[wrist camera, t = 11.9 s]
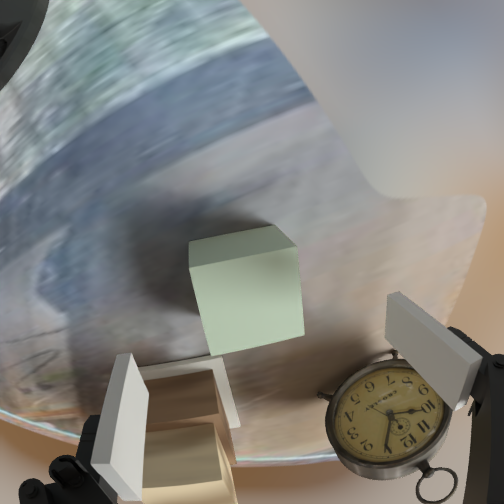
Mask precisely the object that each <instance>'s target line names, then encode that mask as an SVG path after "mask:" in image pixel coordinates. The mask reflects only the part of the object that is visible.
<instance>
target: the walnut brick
mask: <svg viewBox="0 0 504 504" xmlns="http://www.w3.org/2000/svg"><path fill="white" fill-rule="evenodd" d="M144 384H145V386H146V388H147V390H148V393H149V399H148V409H147V419H146V431H145V433H146V432H155V431H164V430H172V429H179V428H186V427H193V426H199V425H205V424H211V423H214V426H215V428H216V431H217V433H218V436H219V439H220V441H221V444H222V446H223V449H224V451H225V454H226V456H227V459H228V461H229V464H230V465H233V464H237V462H236V458H235V453H234V448H233V443H232V438H231V433H230V427H229V422H228V419H227V416H226V413H225V410H224V406H223V403H222V400H221V397H220V393H219V390H218V387H217V383H216V380H215V376H214V373H213V370H212V369H211V370H206V371H200V372H195V373H189V374H183V375H177V376H171V377H165V378H158V379H152V380H144Z"/></svg>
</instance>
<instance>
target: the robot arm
mask: <svg viewBox="0 0 504 504" xmlns="http://www.w3.org/2000/svg"><path fill="white" fill-rule="evenodd" d="M48 4H49V0H0V90H1V89H2V88H3V87H4V86H5V85H6V84H7V82H8V81H9V80H10V79H11V77H12V76H13V75H14V73H15V72H16V71H17V69H18V68H19V66H20V65H21V63H22V62H23V60H24V59H25V57H26V56H27V54H28V52H29V50H30V49H31V47H32V45H33V43H34V41H35V39H36V37H37V35H38V33H39V31H40V28H41V26H42V23H43V21H44V18H45V15H46V12H47V8H48ZM385 339H386V340H387V341H388V342H389V343H390V344H391V345H392V346H393V347H394V348H395V349H396V350H397V351H398V352H399V353H400V354H401V355H402V356H403V357H404V358H405V360H406V361H407V362H408V363H409V364H410V365H411V366H412V367H413V368H414V369H415V370H416V371H417V372H418V373H419V374H420V375H421V376H422V378H423V379H424V380H425V381H426V382H427V383H428V384H429V385H430V386H431V387H432V388H433V389H434V390H435V391H436V393H437V394H438V395H439V396H440V397H441V398H442V399H443V400H444V401H445V402H446V403H447V404H448V406H449V407H450V408H451V409H452V410H453V411H456V410H458V409H459V408H461V407H463V406H464V405H466V404H467V401H468V399H469V396H470V395H471V396H472V397H473V398H474V401H473V403H472V406H471V408H470V410H469V413H468V416H470V414H471V412H472V429H471V444H470V456H469V466H468V473H467V481H466V488H465V494H464V500H463V504H504V355H502V354H495V355H491V354H490V353H488V352H487V351H486V350H485V349H483V348H482V347H481V346H480V345H478V344H477V343H476V342H475V341H472V339H470V338H469V337H467V335H466V334H464V333H463V332H462V331H460V330H459V329H456V328H453V327H448V328H446V327H445V326H443V325H442V324H441V323H440V322H438V321H437V320H436V319H434V318H433V317H432V316H431V315H429V314H428V313H427V312H425V311H424V310H423V309H422V308H420V307H419V306H418V305H416V304H415V303H414V302H412V301H411V300H410V299H408V298H407V297H406V296H404V295H403V294H402V293H400V292H395V293H392V294H389V295H387V311H386V326H385ZM148 399H149V393H148V390H147V388H146V386H145V384H144V381H143V379H142V377H141V375H140V372H139V370H138V368H137V365H136V363H135V360H134V358H133V356H132V353H125V354H118V355H117V356H116V360H115V363H114V367H113V370H112V374H111V377H110V381H109V385H108V389H107V392H106V396H105V400H104V404H103V408H102V412H101V415H90V417H89V418H88V419H87V421H86V422H85V423H84V426H83V430H82V435H81V437H80V442H79V445H78V449H77V453H76V457H74V456H71V455H62V456H59V457H57V458H56V459H55V460H53V461H52V463H51V464H50V466H49V475H50V477H51V478H52V479H53V480H54V481H55V483H51V484H46V485H44V484H43V483H42V482H41V481H40V480H38V479H35V478H32V479H28V480H26V481H24V482H23V483H22V484H21V486H20V488H19V500H20V504H118V503H117V496H118V495H119V497H120V498H121V499H123V501H142V478H143V459H144V444H145V431H146V419H147V409H148Z"/></svg>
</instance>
